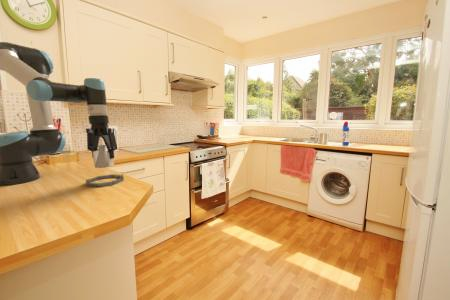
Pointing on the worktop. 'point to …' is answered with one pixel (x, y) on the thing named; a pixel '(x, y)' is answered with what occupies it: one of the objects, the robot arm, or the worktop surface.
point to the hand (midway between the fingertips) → (104, 165)
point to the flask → (102, 157)
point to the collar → (88, 182)
